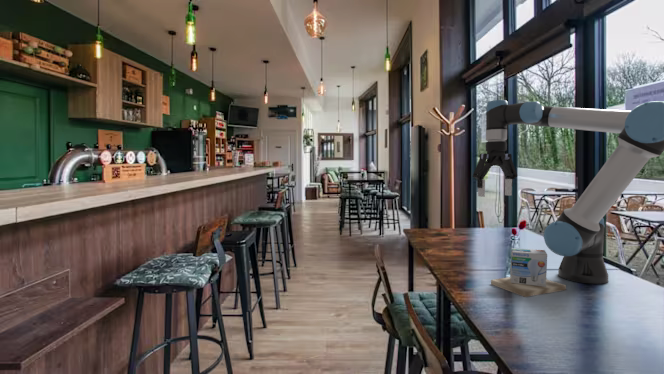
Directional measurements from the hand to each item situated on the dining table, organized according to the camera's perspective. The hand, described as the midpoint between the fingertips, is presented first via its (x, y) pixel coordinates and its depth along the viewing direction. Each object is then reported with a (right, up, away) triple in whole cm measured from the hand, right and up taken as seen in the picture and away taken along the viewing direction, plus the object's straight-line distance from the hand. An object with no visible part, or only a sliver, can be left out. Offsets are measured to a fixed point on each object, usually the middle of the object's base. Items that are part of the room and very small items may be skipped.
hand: (495, 196), depth 151 cm
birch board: (+2, -30, -21) cm, 37 cm away
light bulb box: (+2, -29, -21) cm, 36 cm away
